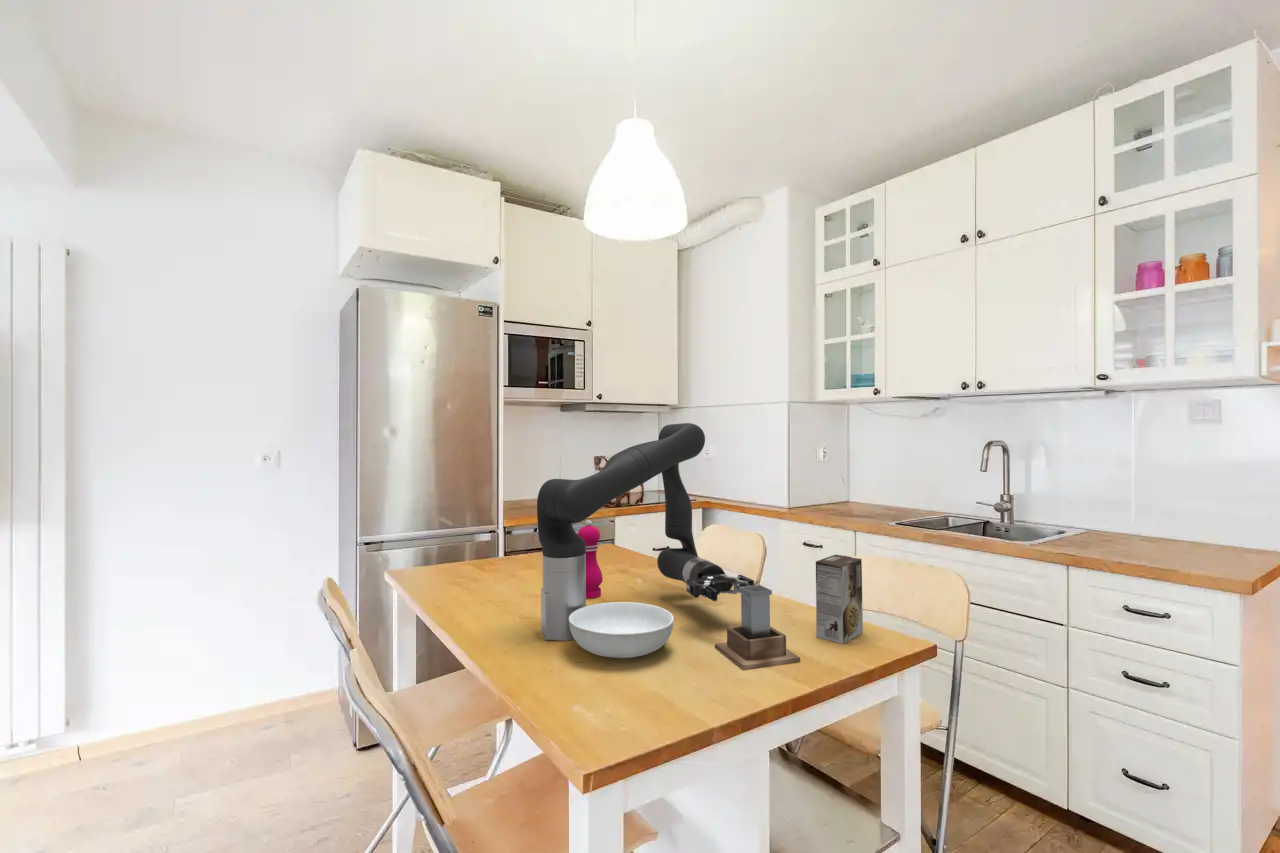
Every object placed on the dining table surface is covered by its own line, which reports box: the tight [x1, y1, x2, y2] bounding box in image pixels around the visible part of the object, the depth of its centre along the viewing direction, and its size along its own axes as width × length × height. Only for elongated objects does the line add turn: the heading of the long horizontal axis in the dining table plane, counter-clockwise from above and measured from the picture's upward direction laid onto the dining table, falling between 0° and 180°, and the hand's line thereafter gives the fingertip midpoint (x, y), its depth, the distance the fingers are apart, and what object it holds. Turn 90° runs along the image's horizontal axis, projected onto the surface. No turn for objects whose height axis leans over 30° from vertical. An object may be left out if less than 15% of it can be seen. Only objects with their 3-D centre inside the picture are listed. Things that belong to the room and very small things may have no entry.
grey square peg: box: [739, 584, 773, 640], centre depth 119 cm, size 5×5×12 cm
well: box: [714, 625, 801, 671], centre depth 119 cm, size 12×12×4 cm
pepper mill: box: [577, 519, 604, 599], centre depth 162 cm, size 7×7×20 cm
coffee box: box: [815, 554, 864, 645], centre depth 130 cm, size 9×6×16 cm
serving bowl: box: [569, 601, 675, 659], centre depth 122 cm, size 21×21×7 cm
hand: (734, 594), depth 127 cm, fingers open, 8 cm apart
